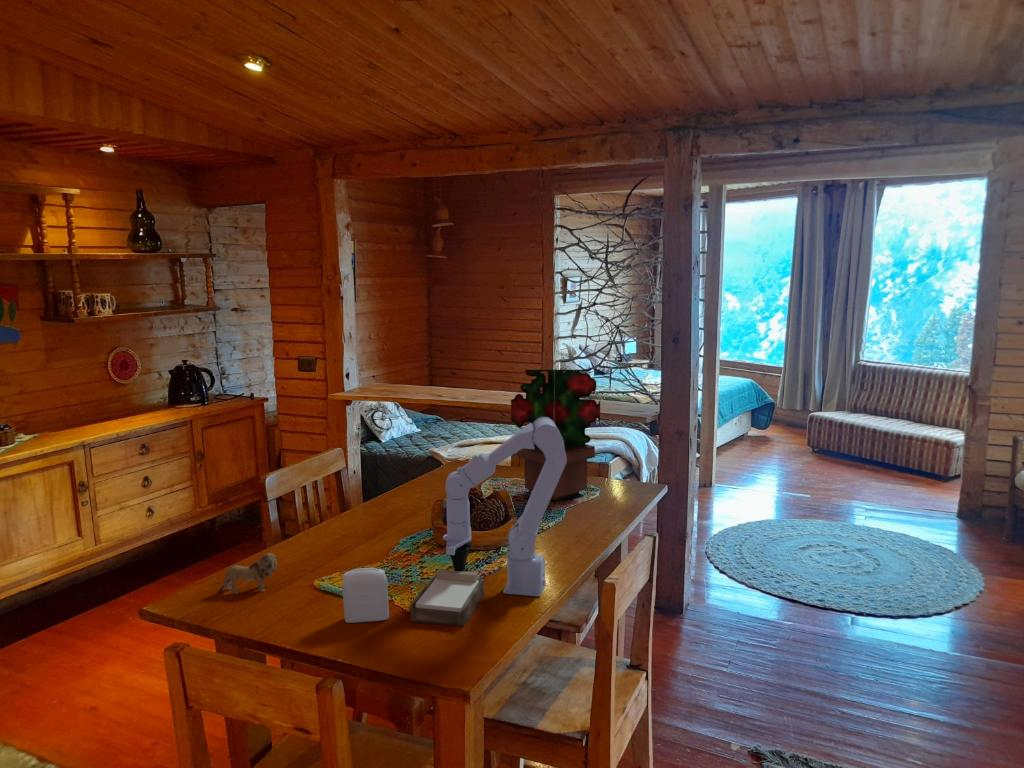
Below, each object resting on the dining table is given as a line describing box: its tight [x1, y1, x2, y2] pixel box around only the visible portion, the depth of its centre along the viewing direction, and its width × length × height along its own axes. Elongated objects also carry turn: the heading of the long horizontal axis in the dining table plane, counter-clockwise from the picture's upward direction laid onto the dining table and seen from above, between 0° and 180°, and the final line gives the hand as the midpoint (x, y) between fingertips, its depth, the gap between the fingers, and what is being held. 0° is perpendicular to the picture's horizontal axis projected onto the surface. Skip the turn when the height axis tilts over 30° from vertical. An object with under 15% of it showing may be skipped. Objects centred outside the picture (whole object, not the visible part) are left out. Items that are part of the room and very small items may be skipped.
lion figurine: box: [217, 552, 278, 595], centre depth 186 cm, size 15×5×9 cm, turn 107°
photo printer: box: [341, 567, 390, 624], centre depth 169 cm, size 10×4×12 cm, turn 96°
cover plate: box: [416, 569, 479, 612], centre depth 175 cm, size 15×11×3 cm
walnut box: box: [409, 574, 485, 628], centre depth 175 cm, size 17×13×4 cm
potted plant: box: [510, 367, 601, 502], centre depth 257 cm, size 22×22×45 cm
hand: (459, 571), depth 183 cm, fingers closed
